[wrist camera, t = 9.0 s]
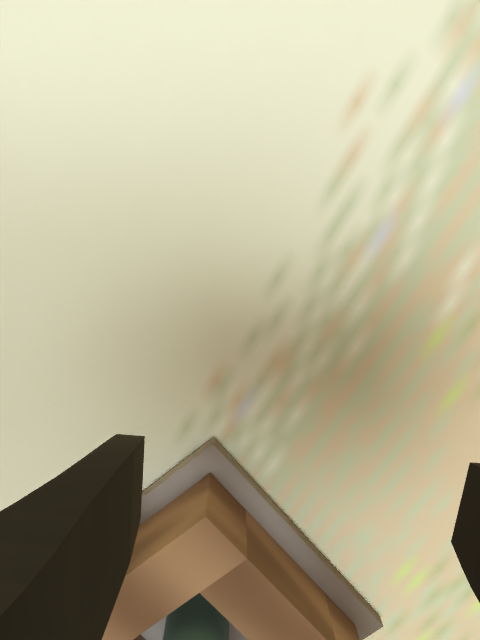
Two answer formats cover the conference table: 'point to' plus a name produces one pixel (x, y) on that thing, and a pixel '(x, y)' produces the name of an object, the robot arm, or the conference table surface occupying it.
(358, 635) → the socket
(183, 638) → the peg
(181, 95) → the conference table surface
